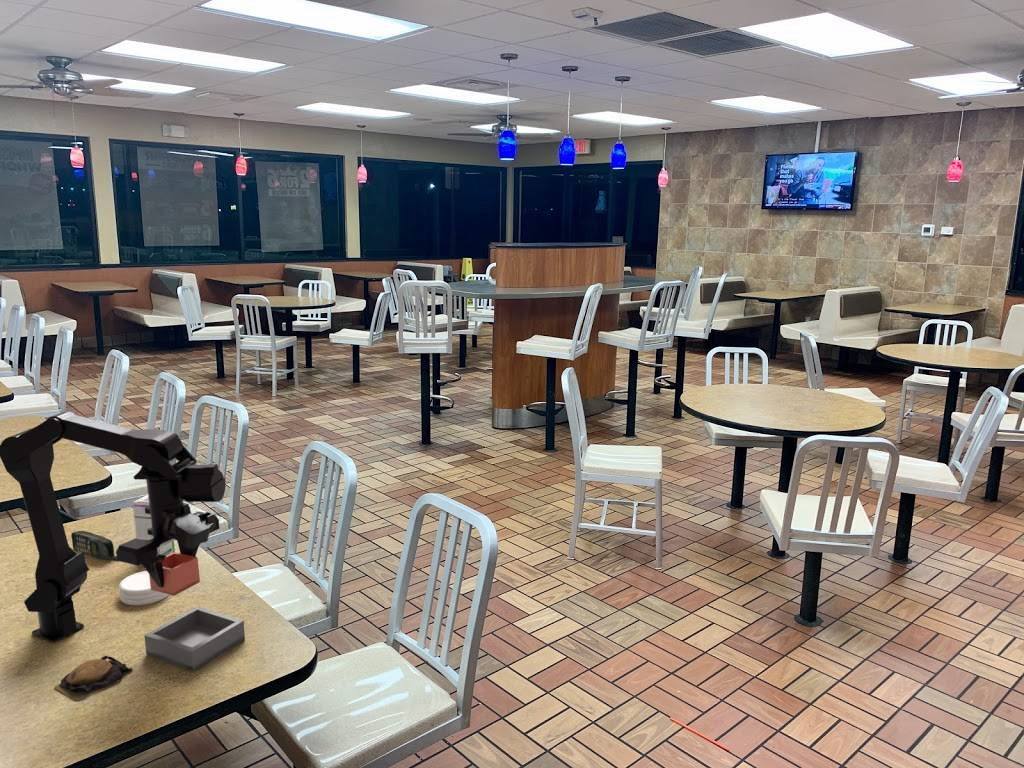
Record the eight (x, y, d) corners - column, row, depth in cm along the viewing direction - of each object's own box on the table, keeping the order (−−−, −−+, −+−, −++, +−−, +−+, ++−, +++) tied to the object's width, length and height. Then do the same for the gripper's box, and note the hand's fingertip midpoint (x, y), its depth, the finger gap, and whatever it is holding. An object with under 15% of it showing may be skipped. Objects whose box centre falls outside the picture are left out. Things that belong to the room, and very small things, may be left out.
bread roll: (78, 706, 126) (75, 686, 125) (50, 690, 130) (47, 670, 129) (138, 674, 135) (136, 655, 134) (111, 660, 139) (108, 641, 138)
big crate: (146, 655, 140) (144, 635, 139) (199, 625, 150) (197, 606, 149) (193, 672, 134) (191, 651, 134) (244, 640, 145) (243, 620, 144)
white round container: (114, 593, 163) (112, 578, 162) (163, 580, 169) (162, 565, 169) (127, 611, 155) (126, 595, 155) (178, 596, 162) (177, 581, 161)
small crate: (150, 589, 142) (147, 564, 141) (177, 576, 148) (174, 552, 147) (174, 595, 140) (171, 570, 139) (200, 581, 145) (197, 557, 144)
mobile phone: (68, 532, 182) (108, 543, 175) (80, 527, 185) (120, 538, 178) (70, 551, 183) (111, 563, 176) (82, 547, 186) (122, 558, 179)
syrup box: (160, 562, 177) (154, 503, 174) (137, 560, 178) (131, 500, 176) (175, 552, 183) (170, 494, 180) (153, 550, 184) (148, 492, 181)
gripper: (154, 525, 129) (164, 611, 132) (237, 490, 145) (244, 567, 148) (109, 515, 133) (119, 598, 137) (194, 483, 150) (202, 557, 153)
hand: (175, 579), depth 144 cm, fingers closed on small crate, 6 cm apart
